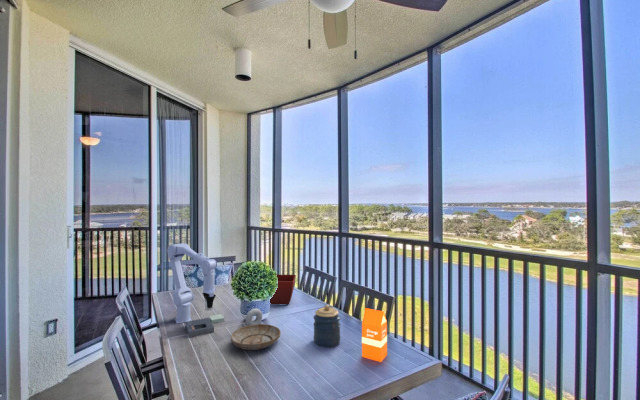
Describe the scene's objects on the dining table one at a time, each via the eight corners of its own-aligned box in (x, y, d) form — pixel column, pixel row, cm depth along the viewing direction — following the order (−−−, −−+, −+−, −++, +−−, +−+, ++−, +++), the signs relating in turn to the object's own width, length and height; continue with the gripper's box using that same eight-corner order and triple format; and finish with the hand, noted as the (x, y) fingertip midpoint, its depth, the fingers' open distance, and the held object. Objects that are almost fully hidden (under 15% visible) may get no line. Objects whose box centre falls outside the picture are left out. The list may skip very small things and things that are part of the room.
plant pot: (293, 307, 194) (293, 281, 195) (263, 307, 195) (264, 281, 195) (295, 298, 213) (295, 274, 214) (269, 298, 214) (269, 274, 214)
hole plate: (185, 326, 163) (185, 321, 163) (208, 322, 169) (208, 317, 169) (189, 337, 149) (189, 332, 149) (214, 332, 155) (214, 327, 155)
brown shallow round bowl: (288, 336, 150) (288, 326, 150) (265, 359, 128) (265, 347, 128) (248, 330, 158) (248, 321, 158) (220, 350, 135) (220, 339, 136)
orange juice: (381, 362, 125) (380, 314, 125) (361, 356, 130) (361, 310, 130) (387, 354, 132) (387, 308, 132) (368, 349, 136) (368, 305, 137)
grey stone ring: (247, 330, 157) (247, 311, 157) (244, 328, 159) (244, 310, 160) (263, 325, 164) (263, 307, 164) (260, 323, 166) (260, 305, 167)
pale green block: (209, 319, 172) (209, 316, 172) (221, 317, 176) (221, 314, 176) (211, 323, 166) (211, 320, 166) (224, 321, 170) (224, 317, 170)
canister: (309, 345, 140) (309, 307, 141) (319, 334, 152) (319, 299, 153) (335, 350, 136) (335, 311, 136) (343, 338, 148) (343, 302, 148)
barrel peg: (204, 308, 164) (204, 296, 165) (212, 307, 167) (212, 294, 167) (206, 311, 161) (206, 297, 161) (213, 309, 163) (214, 296, 164)
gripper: (219, 283, 160) (219, 309, 160) (213, 278, 172) (213, 301, 172) (205, 285, 156) (205, 311, 156) (200, 279, 169) (200, 303, 168)
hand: (208, 306), depth 164 cm, fingers closed on barrel peg, 4 cm apart
